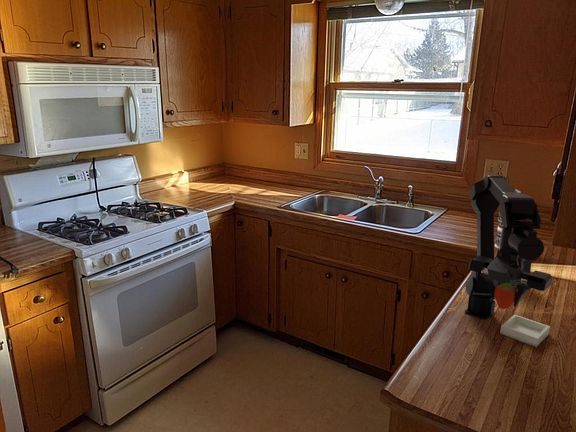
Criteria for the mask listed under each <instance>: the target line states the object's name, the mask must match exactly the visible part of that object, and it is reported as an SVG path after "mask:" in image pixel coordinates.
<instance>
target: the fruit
mask: <svg viewBox="0 0 576 432" xmlns="http://www.w3.org/2000/svg"><path fill="white" fill-rule="evenodd" d="M499 283H500V282H499ZM512 284H513V282H510V283H509V284H508V282H507V283H504V284H503V283H500V284H499V285H497V286H496V288H495V291H494V294H495V300H496V301H495V302H496V304H497V306H498V308H499V309H500V310H507V309H508V308H510V307H511V306H512V305H514V300H515V296H516V293H517V289H514V288H513V287H516V286H511V285H512Z"/></svg>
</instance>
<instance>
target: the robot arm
mask: <svg viewBox="0 0 576 432" xmlns="http://www.w3.org/2000/svg"><path fill="white" fill-rule="evenodd" d="M516 190H517V189H515V187H513V186H512V184H510V183H509V182H508V181H507V177H506V176H504V175H498V174H497V175H495V174H492V175H491V174H490V175H486V176H485V177H483V179H481V180H479V181H476V182H474V183H473V185H472V186H471V187H470V188H469V194H468V196H469V200H470V205H471V208H472V209H473V211H474V212H475V214H476V257H474V258H472V259H470V261H469V262H468V270H469V271H470V273H471V275H470V277H469V278H468V280H467V281H466V282H465V292H466V293H467V295H468V301H467V302H468V303H467V308H466V309H465V310H464V313H466V314H469V315H472V316H474V317H477V318H479V319H481V320H482V319H483V320H487V319H488V318H489V317H491V316H492V315H494V314H495V309H496V301H495V300H496V298H495V294H494V291H495V288H496V286H497V285H499V284H500V283H507V282H508V281H509V279H510V280H511V279H514V280H517V279H518V278H519V279H521V283H519V284H518V285H517V289H516V292H517V293H516V296H515V300H514V302H513V307H515V308H516V307H517V306H518V304H520V302H521V300H522V298H523V297H524V295H526V292H527V291H528V290H529V291H530V290H532V289H533V290H537V291H540V292H541V291H542V292H543V291H546V290H548V288H550V287H551V286H552V283H553V277H552V275H551V273H548V272H543V271H540V270H536V269H535V270H534V271H532V273H531V272H530V273H526V272H523V271H522V269H523V268H524V265H523V260H524V259H525V260H532V261H534V260H537V259H538V258H540V257H541V256H542V254H544V251H545V246H544V243H543V241H542V240H541V238H540V237H538V231H537V230H540V229H541V223H542V219H541V215H540V211H539V207H538V204H537V202H536V200H535V198H533V197H532V196H530V195H528V194H523V193H522V194H520V193H518V192H517V191H516ZM499 206H500V207H499ZM499 209H500V210H499ZM497 210H498V212H499V211H500V212H499V213H500V215H501V218H502V223H503V228H502V235H501V242H500V249H498V248H497V252H496V255H495V212H496V211H497ZM518 220H520V221H518ZM499 282H500V283H499Z"/></svg>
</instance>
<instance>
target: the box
mask: <svg viewBox="0 0 576 432" xmlns="http://www.w3.org/2000/svg"><path fill="white" fill-rule="evenodd" d="M532 263H533V260H525V259H524V260H523V265H524V268H523V269H522V271H523V272H526V273H530V274H531V270H532ZM510 282H513V284H512V285H511V286H516V287H513V288H514V289H515V290H517V285H518V284H519V283H521V279H519V278H518V279H517V280H514V279H511V280H510V279H509V281H508V284H509V283H510ZM503 284H504V283H503Z"/></svg>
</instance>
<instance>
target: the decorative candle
mask: <svg viewBox="0 0 576 432" xmlns="http://www.w3.org/2000/svg"><path fill="white" fill-rule="evenodd" d="M515 190H516V191H517V192H518V193H520V194H523V193H522V192H521V190H519V189H515ZM499 208H500V205H499V207H498V216H497V221H498V226H497V230H496V233H495V237H494V248H497V250H498V249H500V242H501V235H502V228H503V223H502V218H501V215H500V211H499V210H500V209H499ZM518 221H521V220H518Z"/></svg>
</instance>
